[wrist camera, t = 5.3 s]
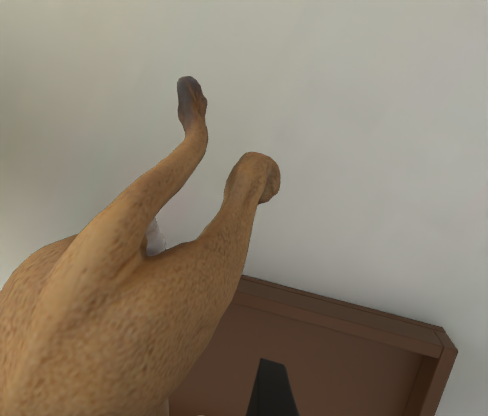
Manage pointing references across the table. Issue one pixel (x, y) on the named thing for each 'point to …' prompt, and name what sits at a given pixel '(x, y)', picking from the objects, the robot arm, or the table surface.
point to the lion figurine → (128, 292)
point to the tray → (317, 357)
